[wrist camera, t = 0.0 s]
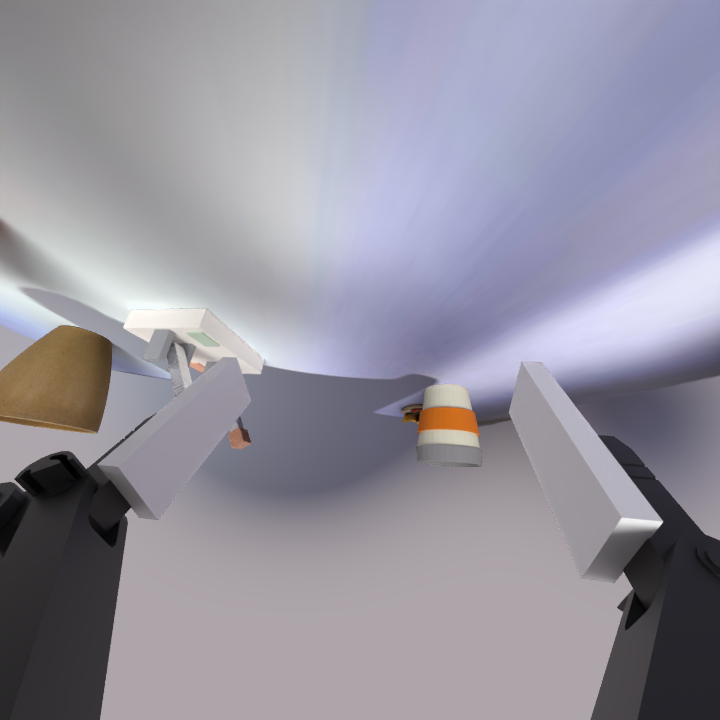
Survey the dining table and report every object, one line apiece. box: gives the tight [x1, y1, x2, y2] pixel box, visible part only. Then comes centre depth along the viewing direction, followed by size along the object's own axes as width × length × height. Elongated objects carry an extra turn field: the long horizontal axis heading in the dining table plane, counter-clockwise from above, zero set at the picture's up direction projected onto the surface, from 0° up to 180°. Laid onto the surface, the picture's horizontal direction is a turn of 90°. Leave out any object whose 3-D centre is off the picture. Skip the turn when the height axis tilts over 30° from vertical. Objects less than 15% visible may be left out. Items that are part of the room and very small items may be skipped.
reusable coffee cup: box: [416, 384, 482, 467], centre depth 58 cm, size 12×13×15 cm
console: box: [123, 308, 264, 374], centre depth 45 cm, size 17×12×7 cm
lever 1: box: [167, 340, 192, 398], centre depth 37 cm, size 2×2×15 cm
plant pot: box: [0, 326, 112, 434], centre depth 47 cm, size 15×15×16 cm
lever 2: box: [228, 416, 251, 449], centre depth 47 cm, size 2×2×15 cm
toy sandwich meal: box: [402, 405, 423, 424], centre depth 77 cm, size 12×14×5 cm
